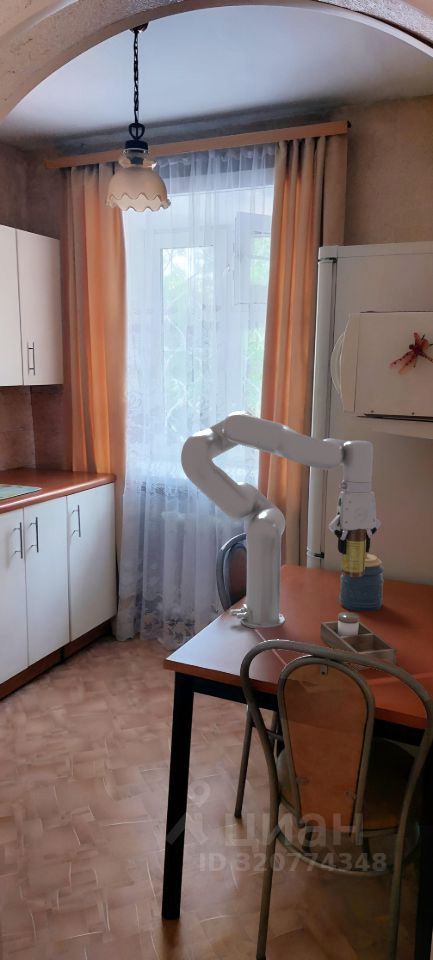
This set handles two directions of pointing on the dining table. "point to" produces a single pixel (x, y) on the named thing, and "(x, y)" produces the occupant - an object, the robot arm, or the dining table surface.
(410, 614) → the dining table surface
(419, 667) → the dining table surface
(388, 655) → the caddy
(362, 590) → the canister
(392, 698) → the dining table surface
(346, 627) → the spice jar
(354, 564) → the sauce bottle
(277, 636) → the dining table surface
